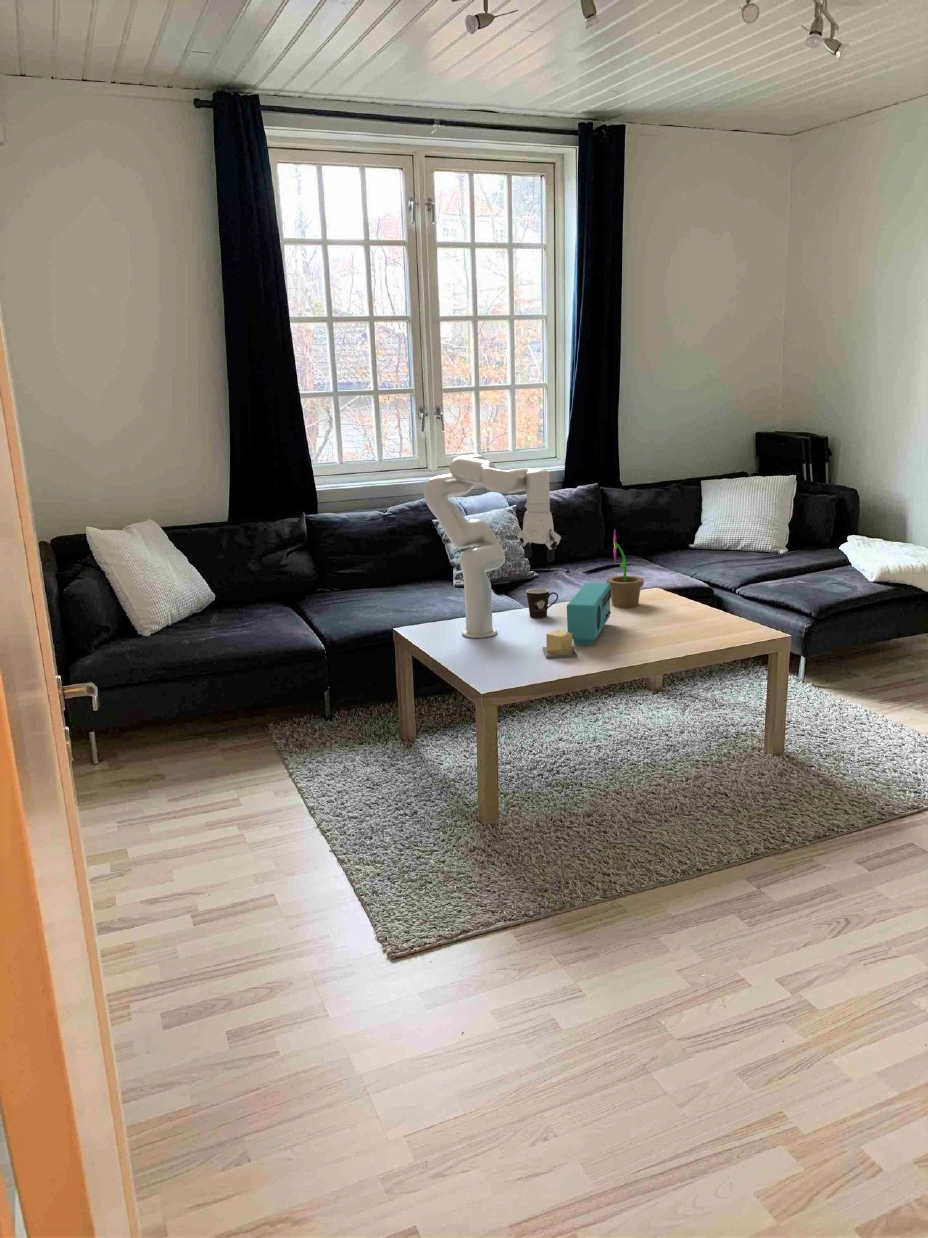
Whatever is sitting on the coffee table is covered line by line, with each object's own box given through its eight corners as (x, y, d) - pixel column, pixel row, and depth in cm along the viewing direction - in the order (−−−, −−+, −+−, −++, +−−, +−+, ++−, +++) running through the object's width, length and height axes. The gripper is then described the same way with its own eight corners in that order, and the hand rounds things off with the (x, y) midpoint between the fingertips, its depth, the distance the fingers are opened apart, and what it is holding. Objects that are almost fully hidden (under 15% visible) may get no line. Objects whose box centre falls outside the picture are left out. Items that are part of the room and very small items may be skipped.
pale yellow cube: (546, 651, 315) (546, 633, 314) (557, 647, 320) (557, 629, 318) (561, 654, 311) (560, 636, 310) (572, 650, 316) (572, 632, 314)
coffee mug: (525, 618, 360) (524, 593, 358) (528, 613, 368) (528, 588, 366) (555, 619, 358) (555, 593, 355) (558, 613, 366) (558, 588, 363)
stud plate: (542, 650, 320) (542, 634, 319) (572, 648, 321) (572, 633, 319) (546, 658, 311) (546, 642, 309) (576, 657, 311) (576, 641, 310)
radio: (597, 649, 319) (597, 605, 315) (566, 647, 322) (566, 604, 318) (613, 622, 350) (612, 582, 347) (585, 621, 354) (584, 582, 350)
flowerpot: (605, 600, 382) (605, 526, 374) (642, 600, 381) (642, 525, 373) (607, 609, 368) (607, 533, 361) (645, 609, 367) (645, 532, 359)
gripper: (510, 507, 315) (512, 558, 320) (552, 511, 304) (553, 564, 308) (525, 504, 320) (526, 554, 325) (566, 508, 309) (567, 560, 313)
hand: (539, 559), depth 316 cm, fingers open, 9 cm apart
